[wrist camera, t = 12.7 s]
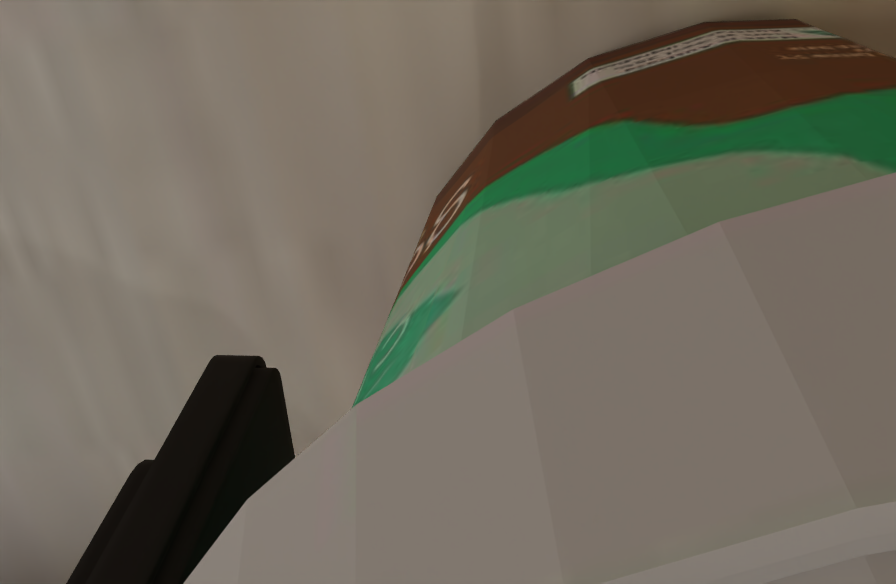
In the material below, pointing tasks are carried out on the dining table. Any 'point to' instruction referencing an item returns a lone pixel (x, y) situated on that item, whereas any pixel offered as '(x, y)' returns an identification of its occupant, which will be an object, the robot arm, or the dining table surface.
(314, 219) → the dining table surface
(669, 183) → the food container
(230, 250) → the dining table surface
